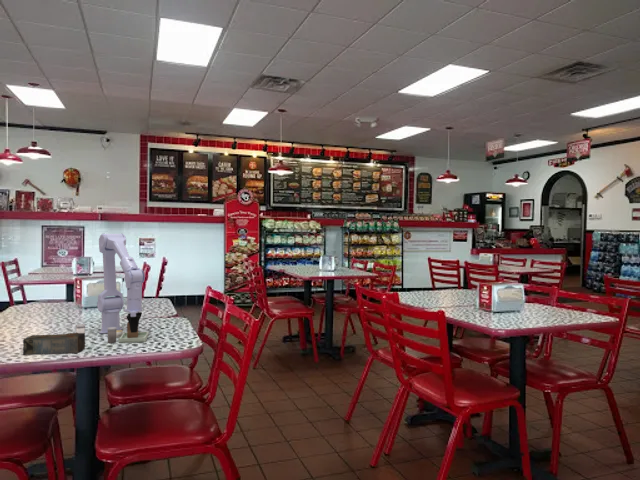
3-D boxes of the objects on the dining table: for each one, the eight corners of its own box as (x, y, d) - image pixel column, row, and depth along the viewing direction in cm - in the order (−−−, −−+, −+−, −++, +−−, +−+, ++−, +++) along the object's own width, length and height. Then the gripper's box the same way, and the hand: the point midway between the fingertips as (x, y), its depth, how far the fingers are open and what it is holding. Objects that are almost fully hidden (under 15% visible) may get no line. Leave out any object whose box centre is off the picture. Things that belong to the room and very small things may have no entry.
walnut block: (128, 336, 196) (127, 321, 196) (138, 335, 197) (138, 321, 197) (127, 338, 192) (127, 323, 192) (137, 337, 193) (137, 322, 193)
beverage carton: (31, 350, 176) (31, 332, 176) (86, 348, 180) (86, 331, 180) (22, 355, 168) (22, 337, 168) (79, 353, 172) (79, 335, 172)
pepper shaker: (108, 341, 191) (108, 326, 191) (117, 341, 192) (117, 326, 191) (106, 343, 187) (106, 328, 187) (115, 343, 188) (115, 328, 188)
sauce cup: (113, 336, 201) (113, 330, 201) (123, 335, 202) (123, 329, 202) (112, 338, 197) (112, 332, 197) (122, 337, 198) (122, 331, 198)
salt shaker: (77, 338, 195) (77, 324, 195) (85, 338, 196) (85, 324, 196) (75, 340, 192) (75, 325, 192) (83, 340, 193) (84, 325, 193)
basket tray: (123, 336, 199) (123, 332, 199) (148, 335, 202) (148, 331, 202) (118, 343, 188) (118, 338, 188) (145, 342, 190) (145, 337, 190)
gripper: (125, 296, 200) (125, 328, 200) (122, 301, 186) (122, 335, 187) (143, 296, 202) (143, 327, 203) (141, 300, 189) (141, 334, 189)
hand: (134, 331), depth 195 cm, fingers closed on walnut block, 4 cm apart
